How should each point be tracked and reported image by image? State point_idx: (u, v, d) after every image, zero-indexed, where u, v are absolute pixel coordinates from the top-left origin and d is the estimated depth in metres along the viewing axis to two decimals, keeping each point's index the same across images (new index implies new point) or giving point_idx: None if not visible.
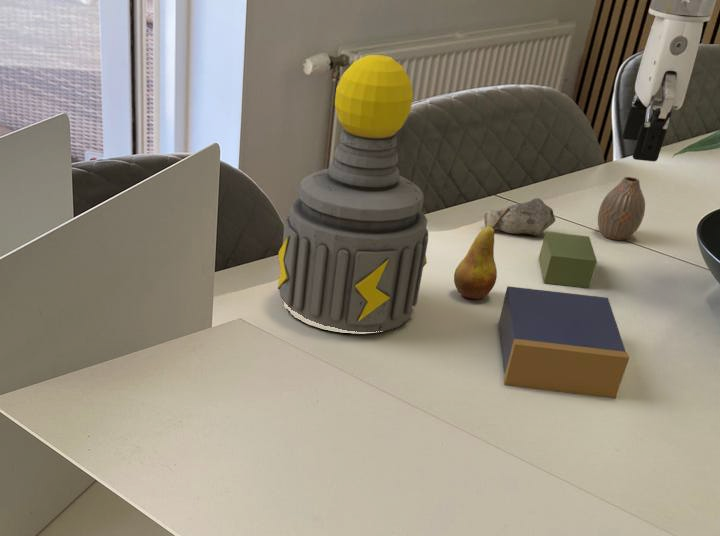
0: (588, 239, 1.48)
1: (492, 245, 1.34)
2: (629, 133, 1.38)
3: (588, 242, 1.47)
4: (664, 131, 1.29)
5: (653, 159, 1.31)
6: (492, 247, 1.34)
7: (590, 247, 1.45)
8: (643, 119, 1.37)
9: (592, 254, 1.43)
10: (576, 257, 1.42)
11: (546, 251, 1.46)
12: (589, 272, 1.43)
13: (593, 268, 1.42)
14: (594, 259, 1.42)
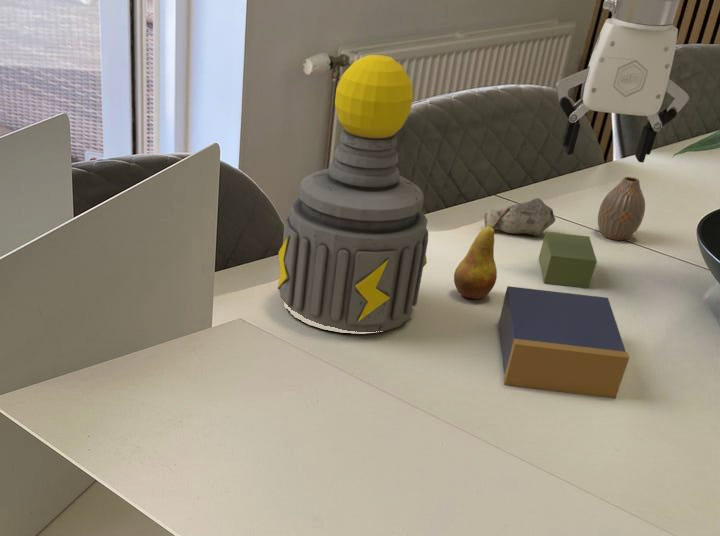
0: (588, 239, 1.48)
1: (492, 245, 1.34)
2: (637, 151, 1.37)
3: (588, 242, 1.47)
4: (574, 125, 1.34)
5: (567, 152, 1.36)
6: (492, 247, 1.34)
7: (590, 247, 1.45)
8: (643, 138, 1.34)
9: (592, 254, 1.43)
10: (576, 257, 1.42)
11: (546, 251, 1.46)
12: (589, 272, 1.43)
13: (593, 268, 1.42)
14: (594, 259, 1.42)
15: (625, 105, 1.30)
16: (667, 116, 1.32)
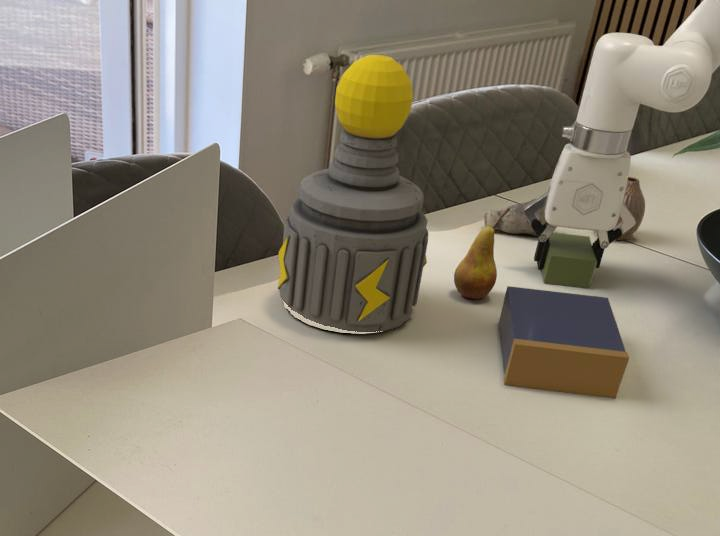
0: (588, 239, 1.48)
1: (492, 245, 1.34)
2: None
3: (588, 242, 1.47)
4: (544, 244, 1.44)
5: (538, 267, 1.47)
6: (492, 247, 1.34)
7: (590, 247, 1.45)
8: None
9: (592, 254, 1.43)
10: (576, 257, 1.42)
11: None
12: (589, 272, 1.43)
13: (593, 268, 1.42)
14: (594, 259, 1.42)
15: (583, 222, 1.40)
16: (613, 235, 1.43)
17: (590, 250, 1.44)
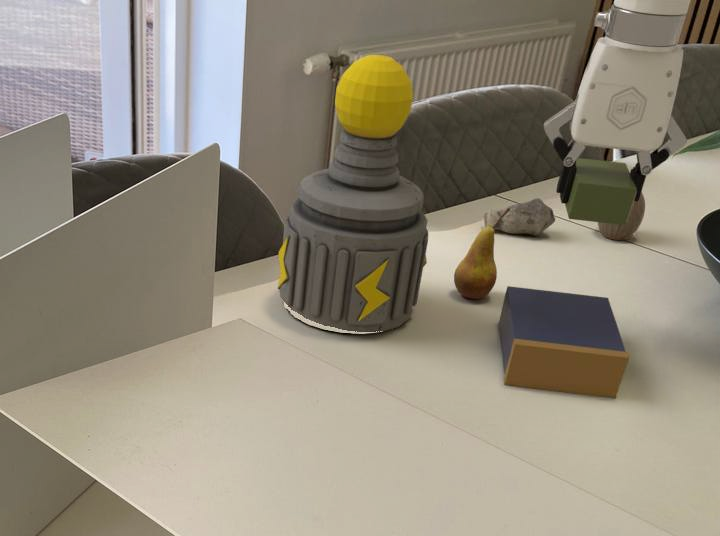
0: (625, 166, 1.18)
1: (492, 245, 1.34)
2: None
3: (625, 169, 1.17)
4: (570, 170, 1.14)
5: (561, 200, 1.17)
6: (492, 247, 1.34)
7: (628, 175, 1.15)
8: None
9: (630, 182, 1.13)
10: (611, 185, 1.12)
11: None
12: (626, 204, 1.12)
13: (632, 199, 1.12)
14: (633, 187, 1.12)
15: (620, 139, 1.10)
16: (658, 158, 1.13)
17: (628, 177, 1.14)
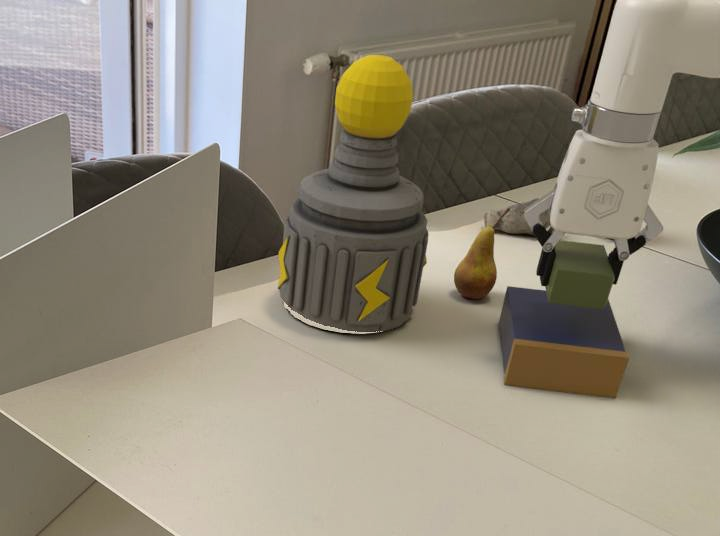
0: (603, 249, 1.20)
1: (492, 245, 1.34)
2: None
3: (603, 252, 1.19)
4: (549, 255, 1.17)
5: (541, 283, 1.19)
6: (492, 247, 1.34)
7: (606, 259, 1.17)
8: None
9: (609, 268, 1.15)
10: (589, 272, 1.14)
11: None
12: (604, 290, 1.15)
13: (610, 285, 1.14)
14: (611, 274, 1.14)
15: (598, 228, 1.12)
16: (635, 244, 1.15)
17: (606, 262, 1.16)
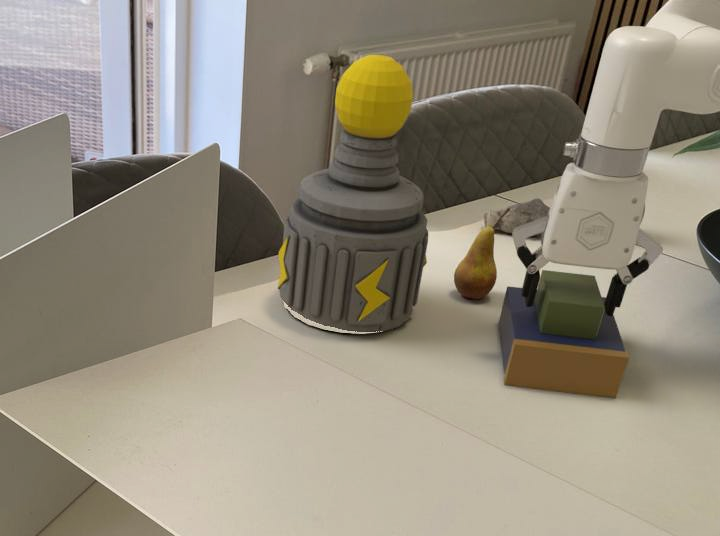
0: (594, 279, 1.22)
1: (492, 245, 1.34)
2: (605, 302, 1.21)
3: (594, 283, 1.21)
4: (533, 277, 1.18)
5: (526, 304, 1.21)
6: (492, 247, 1.34)
7: (596, 290, 1.20)
8: (612, 291, 1.19)
9: (599, 299, 1.18)
10: (580, 303, 1.16)
11: (543, 294, 1.21)
12: (595, 320, 1.17)
13: (600, 316, 1.17)
14: (601, 305, 1.16)
15: (589, 258, 1.15)
16: (638, 268, 1.17)
17: (596, 293, 1.19)
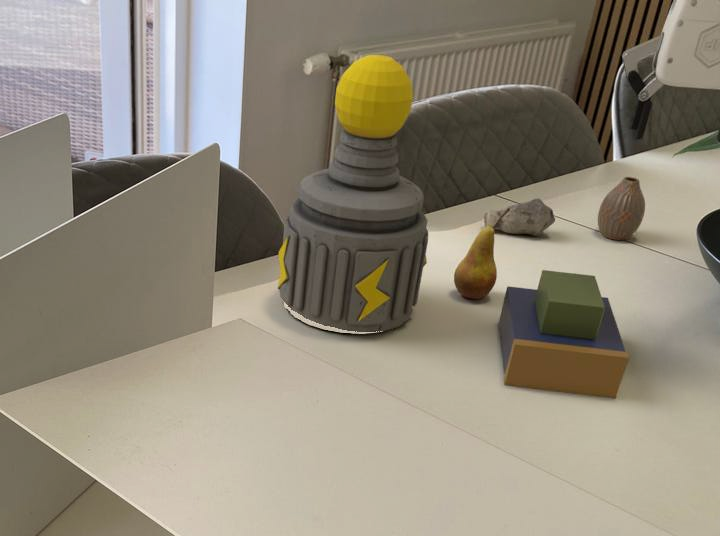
0: (594, 279, 1.22)
1: (492, 245, 1.34)
2: (719, 132, 1.15)
3: (594, 283, 1.21)
4: (645, 104, 1.12)
5: (635, 136, 1.14)
6: (492, 247, 1.34)
7: (597, 290, 1.20)
8: None
9: (599, 299, 1.18)
10: (580, 303, 1.16)
11: (543, 294, 1.21)
12: (595, 320, 1.17)
13: (600, 316, 1.17)
14: (602, 305, 1.16)
15: (708, 78, 1.08)
16: None
17: (596, 293, 1.19)
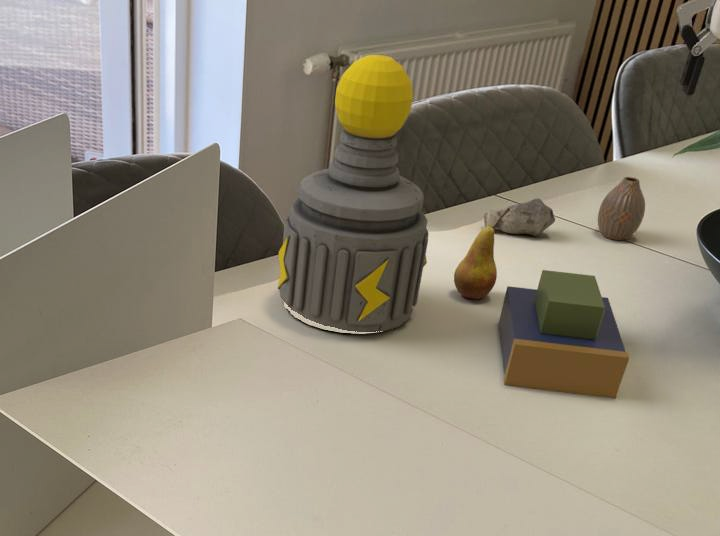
0: (594, 279, 1.22)
1: (492, 245, 1.34)
2: None
3: (594, 283, 1.21)
4: (698, 59, 1.13)
5: (686, 92, 1.15)
6: (492, 247, 1.34)
7: (597, 290, 1.20)
8: None
9: (599, 299, 1.18)
10: (580, 303, 1.16)
11: (543, 294, 1.21)
12: (595, 320, 1.17)
13: (600, 316, 1.17)
14: (602, 305, 1.16)
15: None
16: None
17: (596, 293, 1.19)
